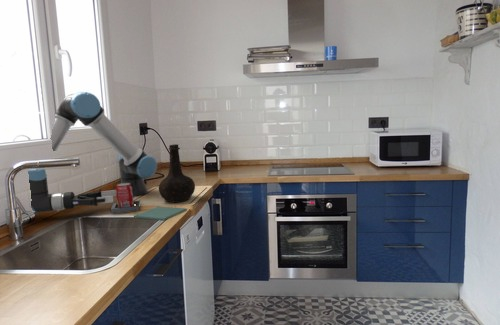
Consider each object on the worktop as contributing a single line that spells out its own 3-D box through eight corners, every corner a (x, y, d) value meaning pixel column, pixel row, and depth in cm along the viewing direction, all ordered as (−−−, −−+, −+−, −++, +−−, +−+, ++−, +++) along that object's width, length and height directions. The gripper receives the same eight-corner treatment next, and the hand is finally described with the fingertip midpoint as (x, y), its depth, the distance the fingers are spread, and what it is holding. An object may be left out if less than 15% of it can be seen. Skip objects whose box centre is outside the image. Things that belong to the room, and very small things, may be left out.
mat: (158, 207, 169) (158, 206, 169) (186, 210, 162) (186, 208, 162) (133, 217, 155) (133, 215, 155) (163, 220, 148) (163, 218, 148)
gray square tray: (113, 207, 174) (113, 203, 174) (139, 204, 177) (139, 200, 177) (111, 214, 162) (110, 209, 162) (139, 210, 165) (138, 206, 165)
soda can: (128, 206, 175) (126, 182, 173) (137, 208, 170) (134, 183, 169) (115, 210, 169) (112, 184, 168) (123, 212, 165) (120, 186, 163)
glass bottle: (167, 206, 170) (162, 147, 166) (154, 200, 185) (149, 145, 181) (202, 200, 180) (197, 143, 176) (187, 194, 195) (183, 142, 191)
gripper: (71, 203, 174) (118, 198, 180) (58, 216, 150) (112, 210, 156) (69, 187, 173) (116, 183, 179) (56, 198, 149) (111, 193, 155)
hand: (114, 195), depth 167 cm, fingers open, 13 cm apart
